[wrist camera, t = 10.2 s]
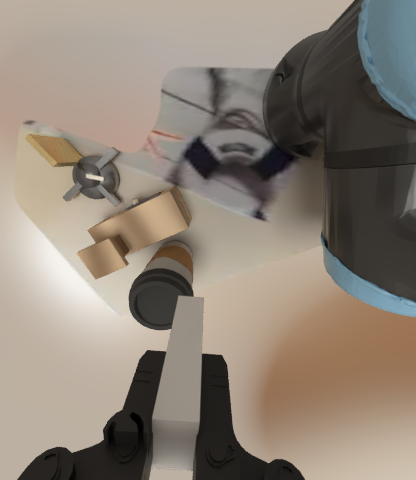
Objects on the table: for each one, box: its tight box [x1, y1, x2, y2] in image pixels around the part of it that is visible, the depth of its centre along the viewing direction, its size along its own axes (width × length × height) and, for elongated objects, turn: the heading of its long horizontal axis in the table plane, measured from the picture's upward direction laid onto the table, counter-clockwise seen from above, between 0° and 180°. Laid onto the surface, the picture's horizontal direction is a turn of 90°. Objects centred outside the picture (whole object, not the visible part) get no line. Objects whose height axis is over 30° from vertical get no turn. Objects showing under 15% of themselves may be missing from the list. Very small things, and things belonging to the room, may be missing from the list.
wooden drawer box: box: [77, 186, 191, 279], centre depth 33 cm, size 14×7×11 cm, turn 115°
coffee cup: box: [129, 241, 194, 330], centre depth 34 cm, size 8×8×15 cm
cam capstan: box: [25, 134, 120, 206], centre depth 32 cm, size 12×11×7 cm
